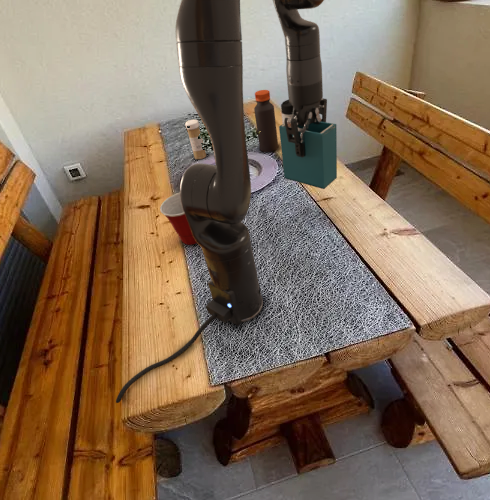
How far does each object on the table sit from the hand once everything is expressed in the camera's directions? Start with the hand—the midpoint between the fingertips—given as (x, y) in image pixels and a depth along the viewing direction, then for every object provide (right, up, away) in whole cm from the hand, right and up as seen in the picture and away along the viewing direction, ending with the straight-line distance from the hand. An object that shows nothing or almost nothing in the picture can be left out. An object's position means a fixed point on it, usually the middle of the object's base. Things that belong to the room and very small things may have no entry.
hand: (308, 150), depth 94 cm
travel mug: (+1, +6, +38) cm, 38 cm away
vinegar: (-8, +13, +47) cm, 49 cm away
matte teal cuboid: (-5, +1, +4) cm, 6 cm away
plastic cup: (-30, -21, +11) cm, 39 cm away
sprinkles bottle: (-34, +10, +50) cm, 61 cm away
